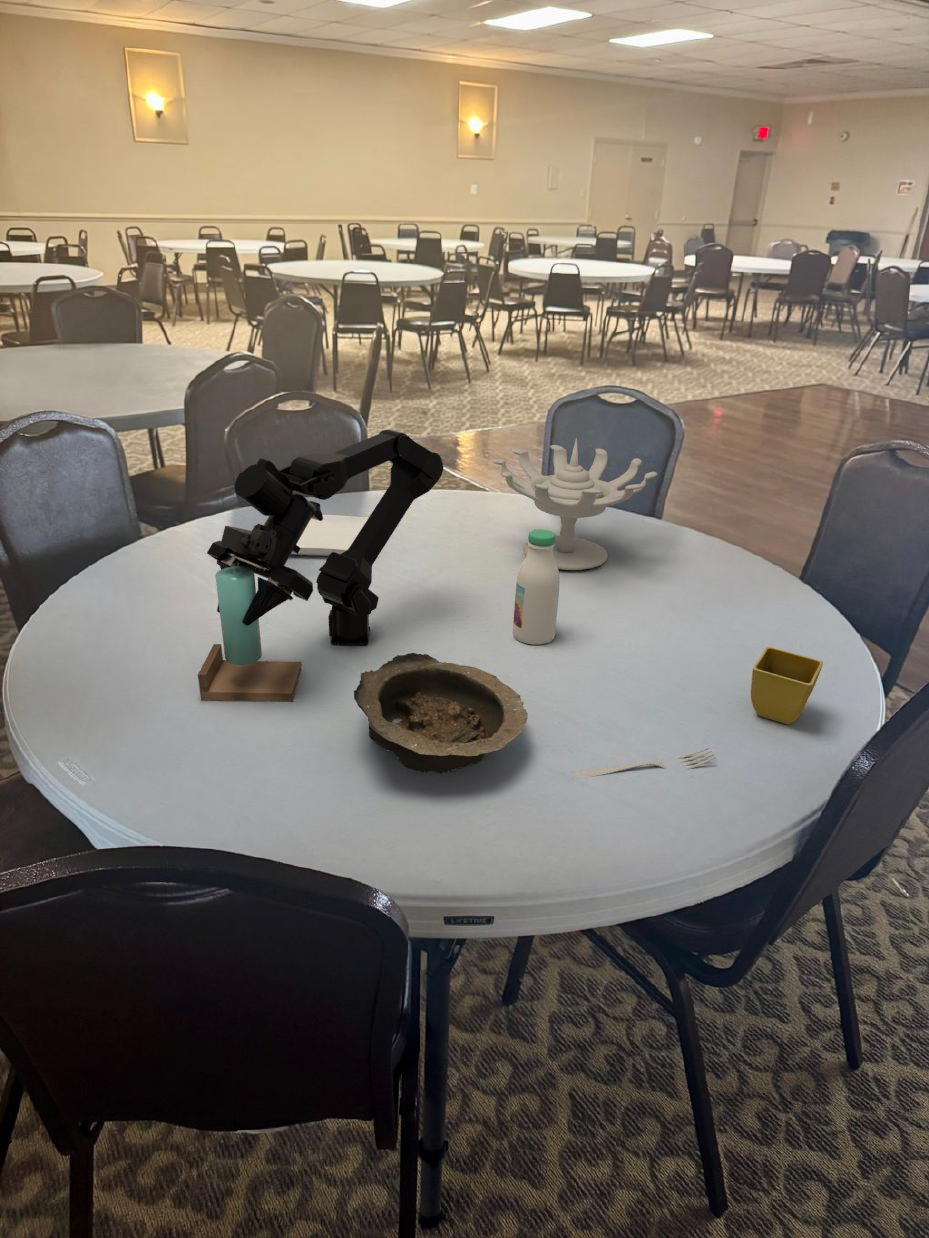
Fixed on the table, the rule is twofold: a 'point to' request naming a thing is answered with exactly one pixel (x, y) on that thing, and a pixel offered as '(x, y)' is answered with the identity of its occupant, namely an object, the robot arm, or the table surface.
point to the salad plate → (330, 535)
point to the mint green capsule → (238, 615)
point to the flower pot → (783, 684)
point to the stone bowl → (438, 712)
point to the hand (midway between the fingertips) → (232, 618)
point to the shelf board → (247, 679)
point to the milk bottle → (537, 591)
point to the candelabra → (573, 499)
